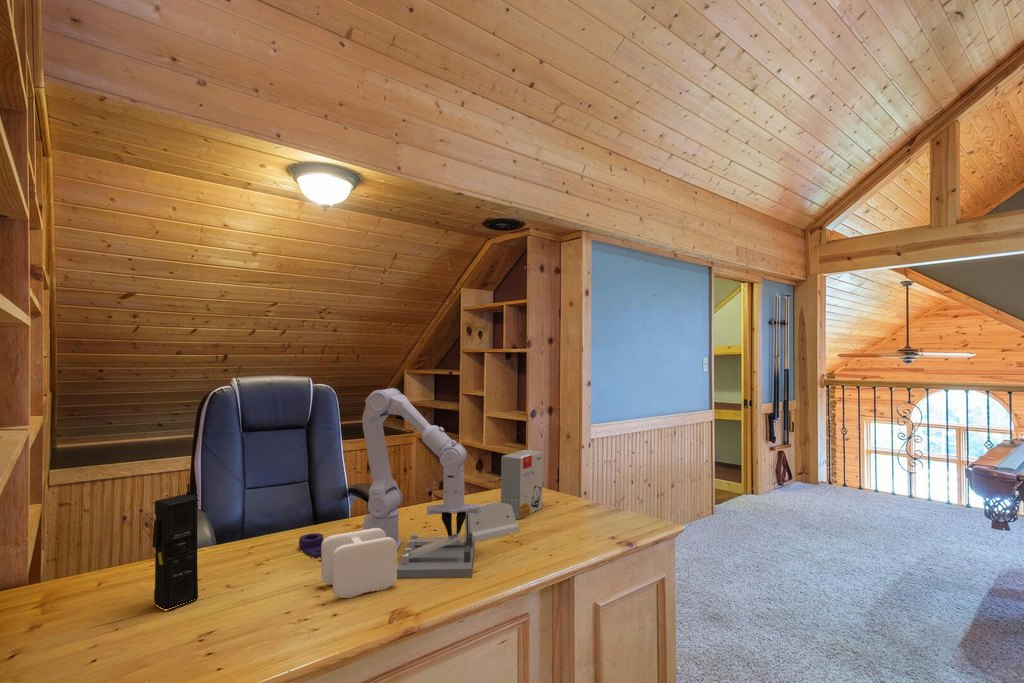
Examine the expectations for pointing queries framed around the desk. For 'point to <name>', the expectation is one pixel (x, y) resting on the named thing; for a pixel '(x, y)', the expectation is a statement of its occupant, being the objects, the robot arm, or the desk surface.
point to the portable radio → (175, 550)
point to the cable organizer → (359, 562)
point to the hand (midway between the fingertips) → (454, 540)
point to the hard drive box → (522, 481)
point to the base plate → (438, 561)
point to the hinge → (491, 521)
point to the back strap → (429, 540)
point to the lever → (311, 544)
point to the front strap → (433, 546)
